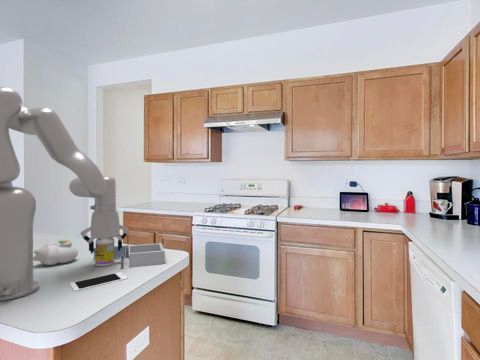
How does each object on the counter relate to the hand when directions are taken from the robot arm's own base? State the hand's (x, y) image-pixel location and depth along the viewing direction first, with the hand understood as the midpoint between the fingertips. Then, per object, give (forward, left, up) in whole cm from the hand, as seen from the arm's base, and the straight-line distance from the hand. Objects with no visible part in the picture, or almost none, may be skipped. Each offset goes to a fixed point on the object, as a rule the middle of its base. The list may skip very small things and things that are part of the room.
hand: (106, 251), depth 108 cm
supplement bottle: (0, 0, -5) cm, 5 cm away
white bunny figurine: (+7, +18, -5) cm, 20 cm away
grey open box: (-1, -14, -5) cm, 15 cm away
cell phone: (-18, 0, -6) cm, 19 cm away
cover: (+6, -2, -5) cm, 8 cm away
